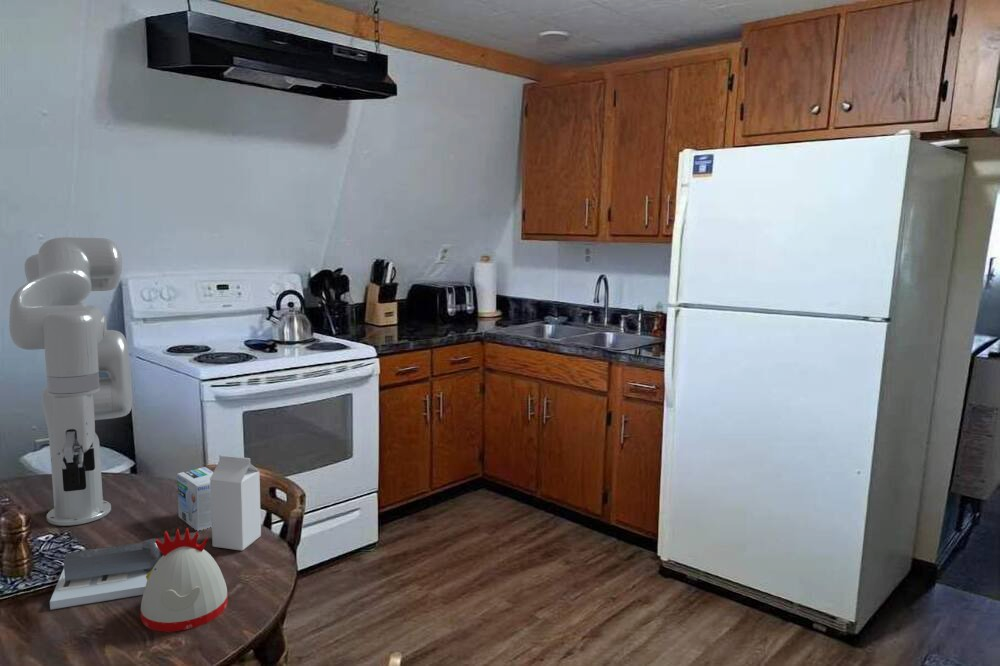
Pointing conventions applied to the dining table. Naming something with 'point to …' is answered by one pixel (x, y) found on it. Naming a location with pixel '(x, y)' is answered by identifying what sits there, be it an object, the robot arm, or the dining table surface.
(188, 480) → the light bulb box
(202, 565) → the kitchen timer
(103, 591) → the label board
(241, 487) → the milk carton
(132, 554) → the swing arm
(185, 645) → the dining table surface
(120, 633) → the dining table surface
